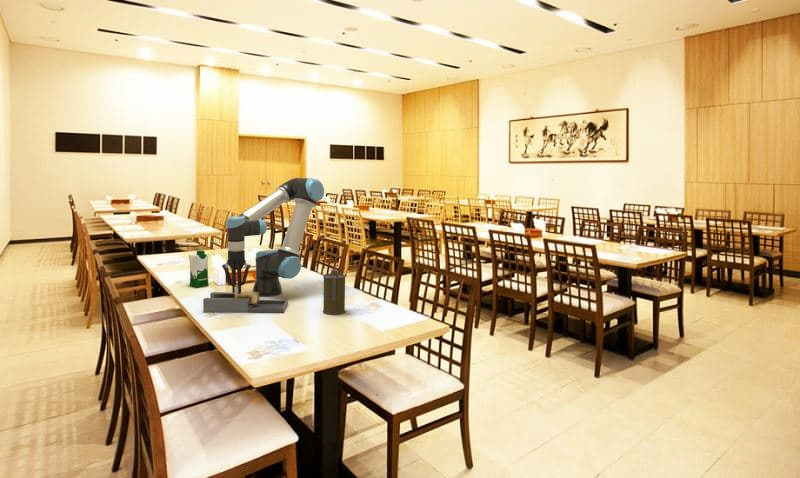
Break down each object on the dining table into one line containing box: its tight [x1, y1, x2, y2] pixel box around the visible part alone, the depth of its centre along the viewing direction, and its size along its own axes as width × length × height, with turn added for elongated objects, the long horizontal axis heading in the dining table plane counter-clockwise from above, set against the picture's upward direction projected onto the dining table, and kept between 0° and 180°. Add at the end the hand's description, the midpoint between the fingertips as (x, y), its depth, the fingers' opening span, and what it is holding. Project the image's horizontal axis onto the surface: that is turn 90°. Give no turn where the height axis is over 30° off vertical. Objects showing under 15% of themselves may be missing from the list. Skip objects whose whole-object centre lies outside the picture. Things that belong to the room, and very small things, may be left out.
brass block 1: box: [237, 291, 250, 298], centre depth 235 cm, size 4×4×4 cm
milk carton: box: [187, 249, 210, 289], centre depth 277 cm, size 9×9×20 cm
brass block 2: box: [247, 291, 260, 304], centre depth 236 cm, size 4×4×4 cm
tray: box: [247, 299, 289, 314], centre depth 237 cm, size 16×15×2 cm
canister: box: [322, 268, 347, 316], centre depth 233 cm, size 11×10×20 cm
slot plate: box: [202, 291, 251, 314], centre depth 235 cm, size 20×14×6 cm
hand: (237, 299), depth 236 cm, fingers closed
